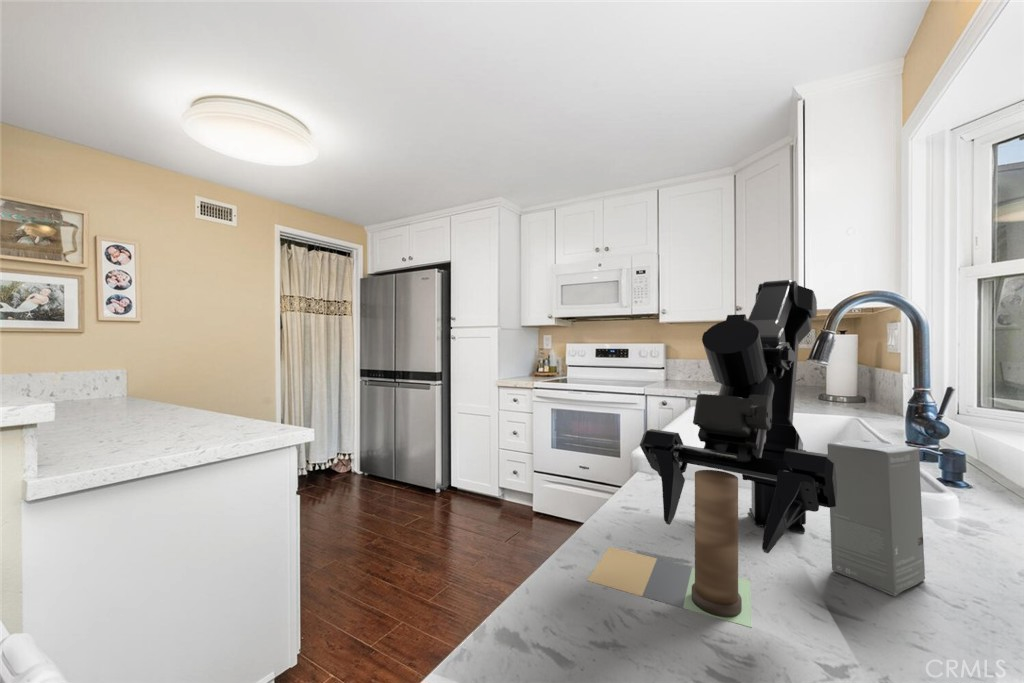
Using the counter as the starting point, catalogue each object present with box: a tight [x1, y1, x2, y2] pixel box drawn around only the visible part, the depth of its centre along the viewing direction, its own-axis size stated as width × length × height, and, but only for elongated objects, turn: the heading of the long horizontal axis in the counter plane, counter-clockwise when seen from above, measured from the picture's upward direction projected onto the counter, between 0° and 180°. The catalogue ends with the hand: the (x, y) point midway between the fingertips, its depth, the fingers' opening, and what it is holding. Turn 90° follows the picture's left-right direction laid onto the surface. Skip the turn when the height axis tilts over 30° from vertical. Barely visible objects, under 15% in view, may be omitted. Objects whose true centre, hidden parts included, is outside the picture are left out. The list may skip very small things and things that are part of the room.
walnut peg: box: [692, 469, 742, 617], centre depth 43 cm, size 5×5×13 cm
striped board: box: [586, 546, 753, 629], centre depth 47 cm, size 16×9×1 cm, turn 61°
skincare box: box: [826, 439, 926, 597], centre depth 51 cm, size 8×7×16 cm
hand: (712, 535), depth 42 cm, fingers open, 9 cm apart
